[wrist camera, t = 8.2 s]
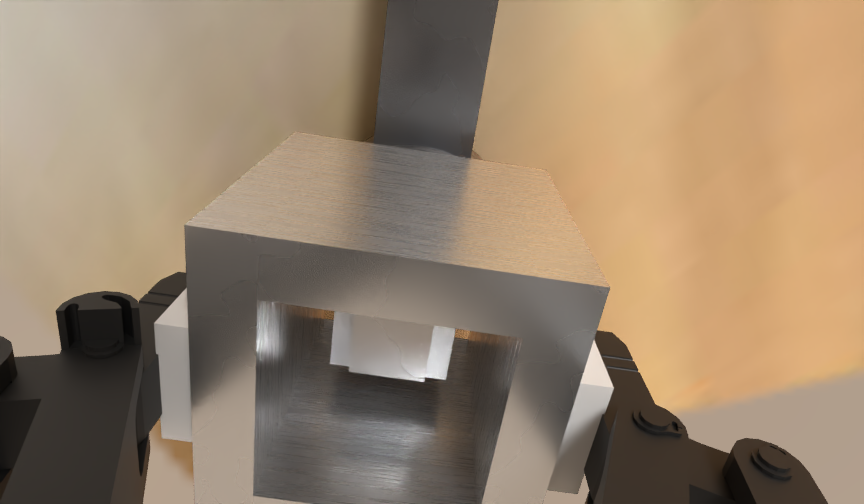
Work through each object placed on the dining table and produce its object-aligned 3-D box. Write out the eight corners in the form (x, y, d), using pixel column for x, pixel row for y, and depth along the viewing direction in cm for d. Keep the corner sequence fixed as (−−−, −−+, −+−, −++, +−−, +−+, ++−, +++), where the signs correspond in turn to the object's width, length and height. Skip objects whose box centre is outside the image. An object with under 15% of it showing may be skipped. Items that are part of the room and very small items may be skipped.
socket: (294, 131, 16) (184, 224, 9) (546, 169, 16) (610, 287, 9) (285, 345, 18) (195, 529, 12) (497, 375, 19) (521, 572, 12)
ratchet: (374, -458, 14) (272, -1047, 6) (634, -411, 14) (863, -925, 6) (321, 279, 22) (250, 433, 14) (484, 302, 22) (501, 467, 14)
